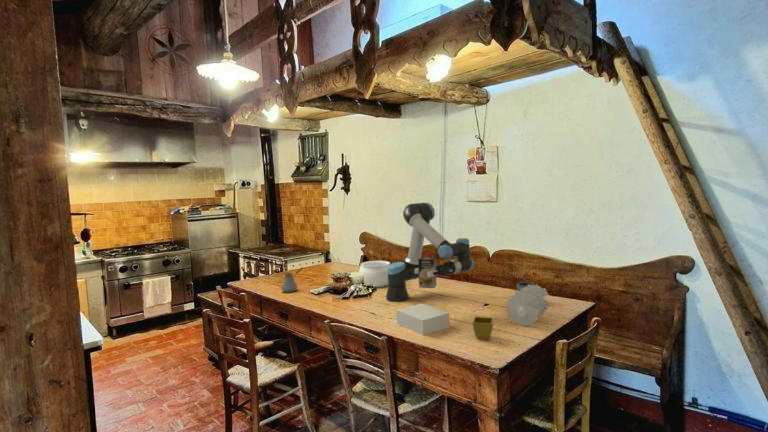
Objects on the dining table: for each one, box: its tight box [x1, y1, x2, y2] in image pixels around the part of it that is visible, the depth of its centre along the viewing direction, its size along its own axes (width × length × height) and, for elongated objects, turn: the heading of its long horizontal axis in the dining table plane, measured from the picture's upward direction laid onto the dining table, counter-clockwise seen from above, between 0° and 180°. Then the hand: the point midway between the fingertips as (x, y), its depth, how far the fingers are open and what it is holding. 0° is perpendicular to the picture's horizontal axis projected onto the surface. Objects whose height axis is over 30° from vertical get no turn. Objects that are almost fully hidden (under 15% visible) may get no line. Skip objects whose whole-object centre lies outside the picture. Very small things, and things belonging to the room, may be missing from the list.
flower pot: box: [472, 316, 494, 341], centre depth 193 cm, size 9×9×9 cm
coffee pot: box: [281, 267, 304, 293], centre depth 301 cm, size 21×12×15 cm, turn 148°
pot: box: [358, 260, 391, 288], centre depth 308 cm, size 29×26×16 cm
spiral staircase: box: [505, 283, 549, 328], centre depth 214 cm, size 18×18×25 cm
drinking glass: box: [516, 281, 535, 292], centre depth 246 cm, size 10×10×12 cm
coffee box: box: [418, 256, 437, 289], centre depth 223 cm, size 9×6×16 cm
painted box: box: [395, 303, 450, 336], centre depth 214 cm, size 22×18×8 cm
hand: (421, 272), depth 221 cm, fingers closed on coffee box, 11 cm apart
